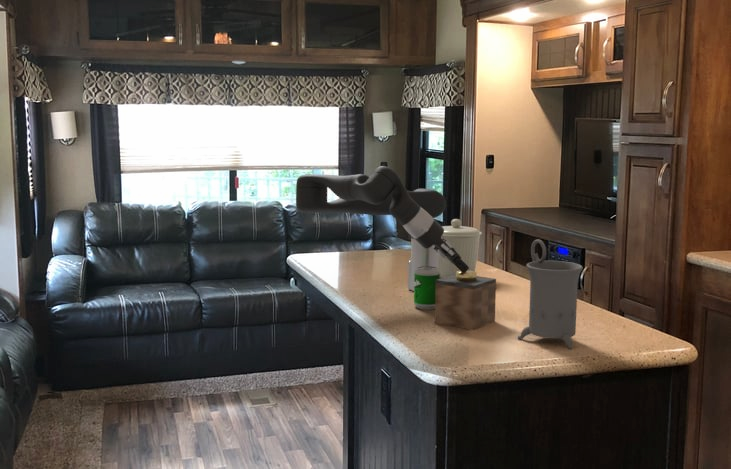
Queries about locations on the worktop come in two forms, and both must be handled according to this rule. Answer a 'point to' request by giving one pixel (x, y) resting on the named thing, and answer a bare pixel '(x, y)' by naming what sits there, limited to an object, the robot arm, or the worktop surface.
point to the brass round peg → (466, 276)
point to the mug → (552, 297)
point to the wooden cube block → (465, 302)
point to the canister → (460, 247)
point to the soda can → (425, 286)
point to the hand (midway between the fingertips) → (466, 270)
